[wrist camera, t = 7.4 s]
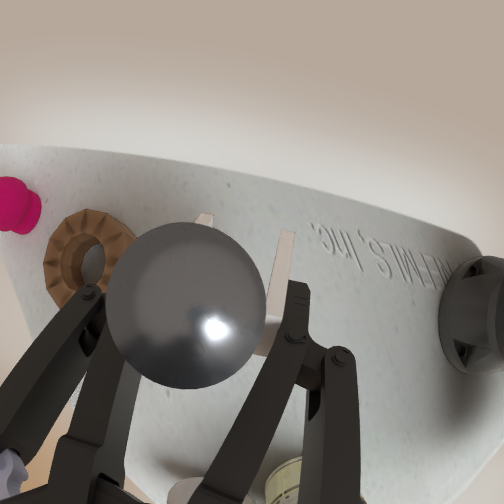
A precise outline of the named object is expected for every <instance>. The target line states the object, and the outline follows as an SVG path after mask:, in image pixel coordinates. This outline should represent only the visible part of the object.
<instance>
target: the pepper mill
mask: <svg viewBox="0 0 504 504" xmlns="http://www.w3.org/2000/svg"><path fill="white" fill-rule="evenodd" d="M40 213H41V201H40V198H39V196H38V195H37V194H36V193H34V192H32V191H31V190H29V189H27V187H26V185H25V184H24V183H23V182H22V181H21V180H19V179H17V178H14V177H0V231H4V232H5V231H10V230H12V231H13V232H15V233H18V234H22V235H23V234H27V233H29V232H30V231H31V230H32V229H33V228H34V227H35V225H36V224H37V222H38V219H39V217H40Z"/></svg>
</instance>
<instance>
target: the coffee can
mask: <svg viewBox="0 0 504 504" xmlns="http://www.w3.org/2000/svg"><path fill="white" fill-rule="evenodd" d="M301 463H302V456H299V457H296V458H293V459H291V460H288V461H286V462H285V463H283V464H281V465H280V466H278V467H277V468H276V469H275V470H274V471H273V472H272V473H271V474H270V476H269V477H268V479H267V481H266V484H265V491H264V492H265V497H266V504H297V502H298V493H299V484H300V474H301ZM360 504H367V503H366V501H365V500H364V498H363V496H362V494H361V493H360Z"/></svg>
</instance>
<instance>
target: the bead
mask: <svg viewBox="0 0 504 504" xmlns="http://www.w3.org/2000/svg"><path fill="white" fill-rule="evenodd" d="M136 239H137V238H136V237H135V236H134V235H133V234H132V233H131V231H130V230H129V229H128V228H127V227H126V226H125V225H124V224H123V223H121V222H120V221H118V220H117V219H115V218H114V217H112V216H111V215H109V214H108V213H103V212H98V211H94V210H89V209H85V210H82V211H80V212H78V213H75V214H73V215H71V216H69V217H67V218H65V219H64V220H63V222H62V223H61V224H60V225H59V227H58V228H57V229H56V230H55V232H54V233H53V234H52V236H51V237H50V239H49V243H48V246H47V250H46V254H45V258H44V262H43V266H44V274H45V282H46V288H47V291H48V292H49V294H50V295H51V297H52V298H53V300H54V301H55V303H56V304H57V306H58V307H59V309H61V308H62V307H63V306H64V305H65V304H66V302H67V301H68V300H69V299H70V298H71V297H72V296H73V295H74V293H75V292H76V291H77V290H78V289H79V288H81V287H82V286H84V285H85V284H84V282H83V279H82V273H81V266H82V262H83V258H84V255H85V254H86V253H87V251H88V250H89V249H90V248H91V247H92V246H93V245H96V244H98V243H101V244H102V245H103V247H104V253H105V259H106V263H105V267H104V271H103V275H102V278H101V279H100V280H99V281H98V283H97V284H96V285H97V286H99V287H100V288H101V290H102V293H107V287H108V283H109V279H110V276H111V273H112V271H113V269H114V267H115V265H116V263H117V261H118V260H119V258H120V256H121V255H122V254H123V252H124V251H125V250H126V249H127V248H128V247H129V246H130V245H131V244H132V243H133V242H134V241H135V240H136Z"/></svg>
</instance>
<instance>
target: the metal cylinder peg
mask: <svg viewBox="0 0 504 504" xmlns="http://www.w3.org/2000/svg"><path fill="white" fill-rule="evenodd" d="M106 316H107V322H108V326H109V330H110V333H111V336H112V338H113V340H114V342H115V345H116V346H117V348H118V350H119V351H120V353H121V354H122V356H123V357H124V358H125V359H126V361H127V362H128V363H129V364H130V365H131V366H132V367H133V368H134V369H135V370H136V371H138V372H139V373H140V374H142V375H143V376H145V377H146V378H148V379H150V380H152V381H153V382H156V383H158V384H161V385H163V386H167V387H171V388H177V389H198V388H205V387H208V386H211V385H215V384H217V383H219V382H221V381H223V380H225V379H227V378H228V377H230V376H232V375H233V374H235V373H236V372H237V371H238V370H239V369H240V368H241V367H243V365H244V364H245V363H246V362H247V361H248V360H249V358H250V357H251V355H252V354H253V352H254V351H255V349H256V347H257V345H258V343H259V341H260V339H261V336H262V333H263V329H264V325H265V319H266V296H265V290H264V286H263V282H262V279H261V277H260V274H259V271H258V269H257V268H256V266H255V264H254V262H253V260H252V259H251V258H250V256H249V255H248V254H247V252H246V251H245V250H244V249H243V248H242V247H241V246H240V245H239V244H238V243H237V242H236V241H235V240H233V239H232V238H231V237H229V236H228V235H226V234H224V233H223V232H221V231H219V230H217V229H214V228H212V227H209V226H206V225H202V224H197V223H184V222H180V223H172V224H167V225H163V226H160V227H157V228H155V229H152V230H150V231H148V232H147V233H145V234H143V235H142V236H140V237H139V238H138V239H136V240H135V241H134V242H133V243H132V244H131V245H130V246H129V247H128V248H127V249H126V250H125V251H124V252H123V254H122V255H121V256H120V258H119V260H118V261H117V263H116V265H115V267H114V269H113V271H112V273H111V276H110V279H109V283H108V287H107V293H106Z"/></svg>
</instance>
